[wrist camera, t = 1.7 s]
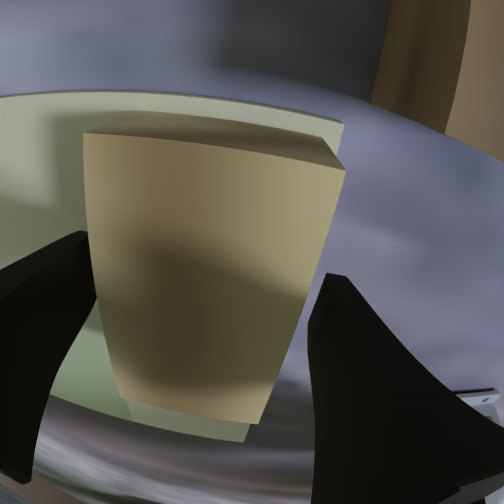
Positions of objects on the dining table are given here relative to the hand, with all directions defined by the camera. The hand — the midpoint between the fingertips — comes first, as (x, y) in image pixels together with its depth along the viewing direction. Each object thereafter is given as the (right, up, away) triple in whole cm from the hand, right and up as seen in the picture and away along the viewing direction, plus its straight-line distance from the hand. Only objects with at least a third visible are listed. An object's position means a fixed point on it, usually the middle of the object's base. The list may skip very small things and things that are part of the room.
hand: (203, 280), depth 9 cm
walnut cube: (+7, +7, -2) cm, 10 cm away
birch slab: (0, +1, +1) cm, 1 cm away
